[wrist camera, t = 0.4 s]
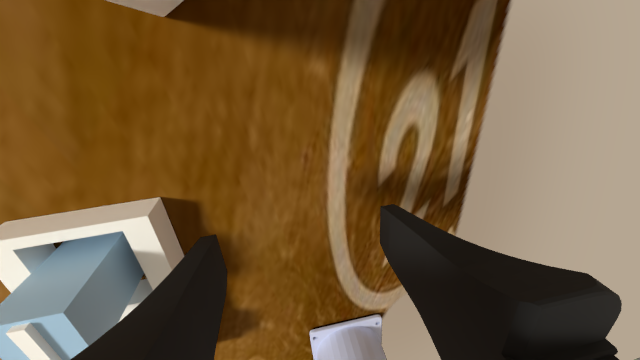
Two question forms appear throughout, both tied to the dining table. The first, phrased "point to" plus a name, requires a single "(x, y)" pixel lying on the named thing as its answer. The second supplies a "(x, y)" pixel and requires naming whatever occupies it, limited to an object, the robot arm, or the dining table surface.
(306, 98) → the dining table surface
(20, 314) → the block
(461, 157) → the dining table surface
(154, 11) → the milk
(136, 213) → the housing
